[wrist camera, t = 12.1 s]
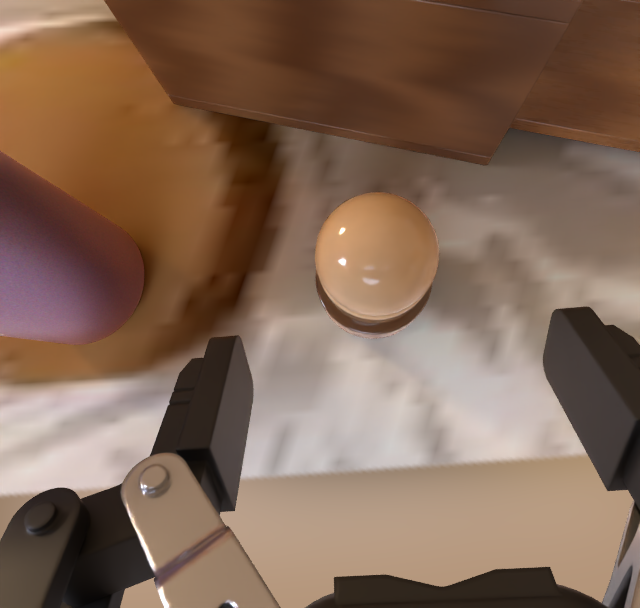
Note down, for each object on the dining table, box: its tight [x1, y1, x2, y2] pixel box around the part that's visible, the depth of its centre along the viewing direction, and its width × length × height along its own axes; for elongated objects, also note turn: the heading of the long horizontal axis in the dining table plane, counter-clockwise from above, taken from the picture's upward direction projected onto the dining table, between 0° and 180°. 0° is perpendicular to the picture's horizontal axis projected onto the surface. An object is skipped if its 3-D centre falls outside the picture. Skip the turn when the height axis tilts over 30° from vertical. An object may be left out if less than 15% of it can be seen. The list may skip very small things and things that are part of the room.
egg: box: [315, 192, 439, 339], centre depth 18 cm, size 5×5×7 cm
